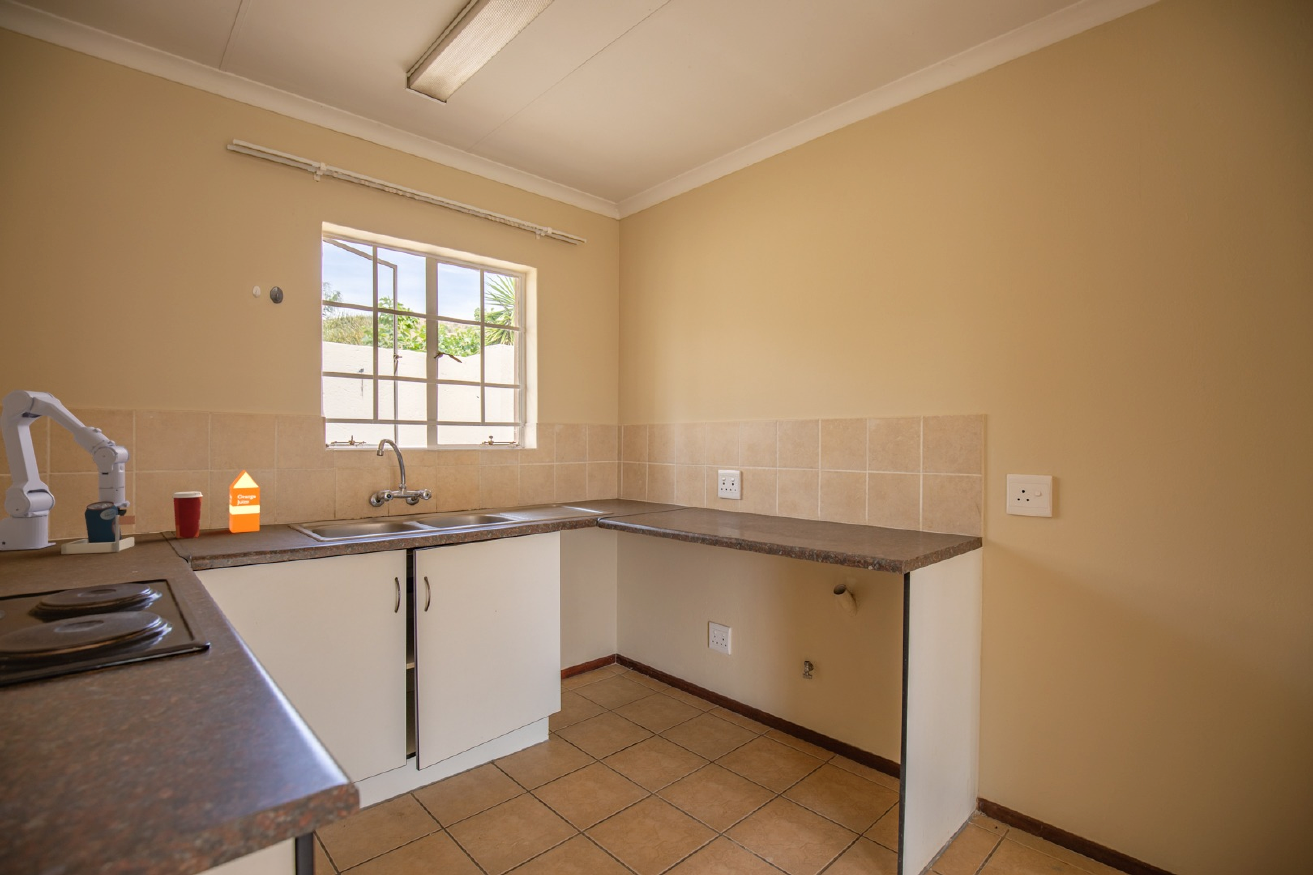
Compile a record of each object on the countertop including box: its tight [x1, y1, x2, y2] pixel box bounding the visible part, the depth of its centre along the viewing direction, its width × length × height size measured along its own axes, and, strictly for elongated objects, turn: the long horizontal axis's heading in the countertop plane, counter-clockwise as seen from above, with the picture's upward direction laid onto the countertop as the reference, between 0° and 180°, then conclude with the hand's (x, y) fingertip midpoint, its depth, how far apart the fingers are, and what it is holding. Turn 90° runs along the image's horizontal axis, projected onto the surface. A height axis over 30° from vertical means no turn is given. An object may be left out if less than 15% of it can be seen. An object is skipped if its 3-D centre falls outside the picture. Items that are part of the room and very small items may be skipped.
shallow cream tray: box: [60, 515, 136, 555], centre depth 173 cm, size 17×11×10 cm, turn 107°
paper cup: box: [172, 491, 204, 540], centre depth 196 cm, size 8×8×14 cm
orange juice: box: [229, 470, 261, 534], centre depth 211 cm, size 8×9×20 cm
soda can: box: [84, 501, 123, 543], centre depth 175 cm, size 7×7×12 cm
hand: (112, 535), depth 179 cm, fingers closed, pressing on soda can
